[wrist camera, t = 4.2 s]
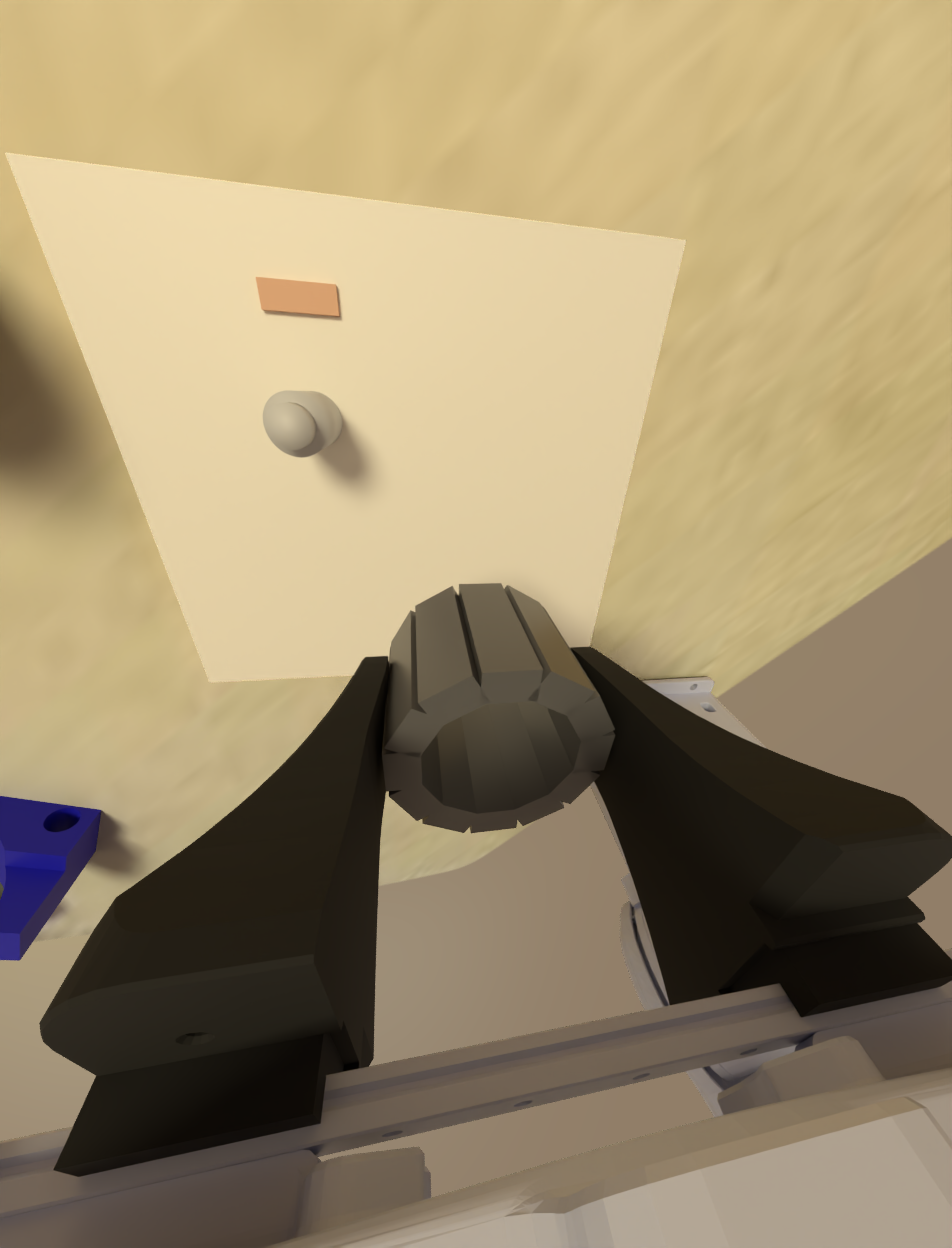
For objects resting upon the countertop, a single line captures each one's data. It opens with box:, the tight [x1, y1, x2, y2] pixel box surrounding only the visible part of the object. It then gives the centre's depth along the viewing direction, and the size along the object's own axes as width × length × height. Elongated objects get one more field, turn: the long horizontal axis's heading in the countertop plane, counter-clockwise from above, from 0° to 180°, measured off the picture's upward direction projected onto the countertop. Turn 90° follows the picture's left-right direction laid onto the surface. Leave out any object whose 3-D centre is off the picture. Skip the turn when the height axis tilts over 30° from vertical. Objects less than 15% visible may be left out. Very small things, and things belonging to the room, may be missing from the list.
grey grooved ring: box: [382, 583, 615, 833], centre depth 10 cm, size 5×5×4 cm
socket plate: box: [5, 152, 686, 683], centre depth 15 cm, size 20×18×5 cm
